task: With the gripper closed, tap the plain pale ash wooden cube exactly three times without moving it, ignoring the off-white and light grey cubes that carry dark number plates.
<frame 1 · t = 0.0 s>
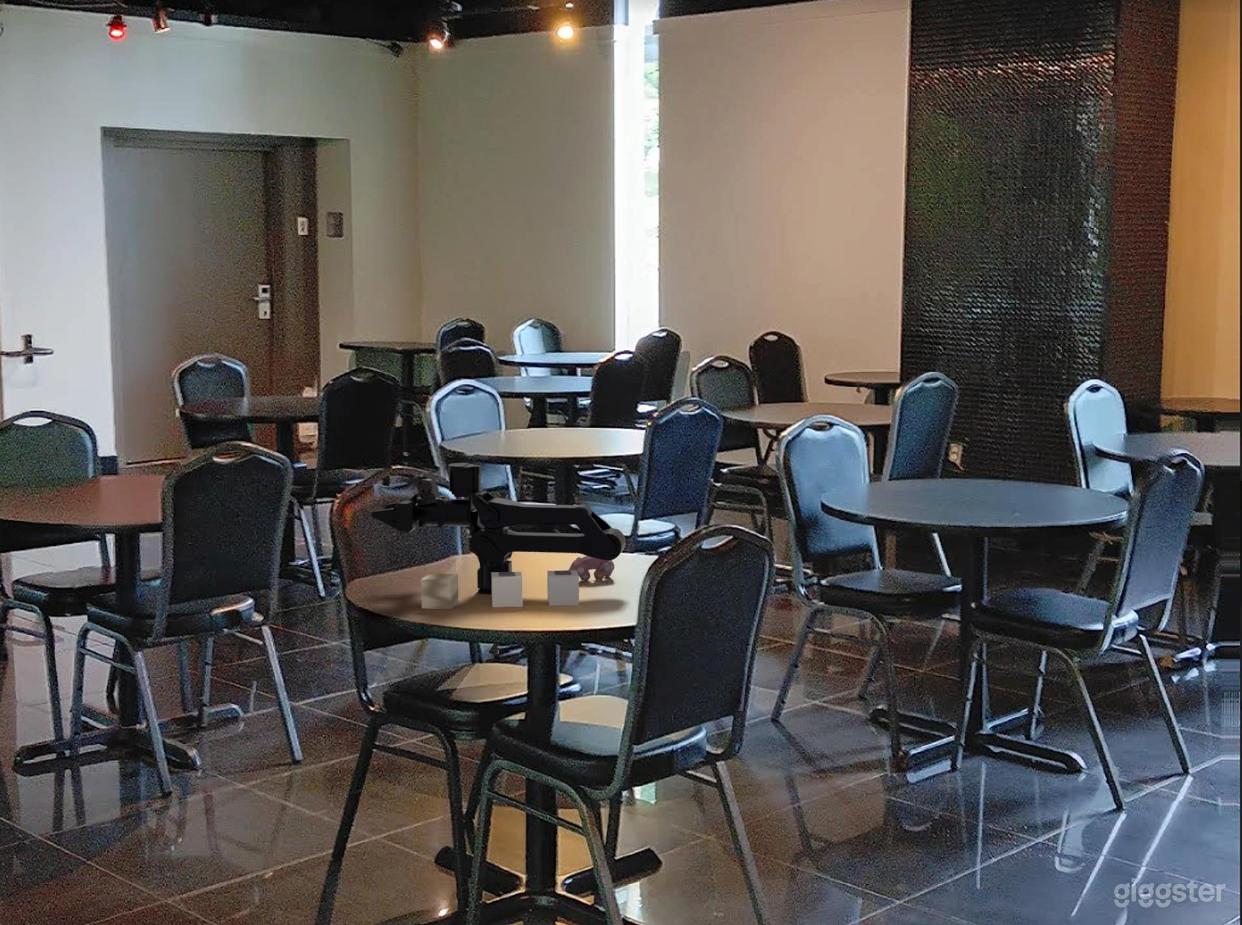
hand: (378, 510, 325), 17 cm above the table, tool horizontal, fingers open, 9 cm apart
grey numbered cube: (563, 602, 312), on the table
plain ash cube: (440, 605, 310), on the table
video game controller: (591, 581, 334), on the table
off-white numbered cube: (507, 603, 311), on the table
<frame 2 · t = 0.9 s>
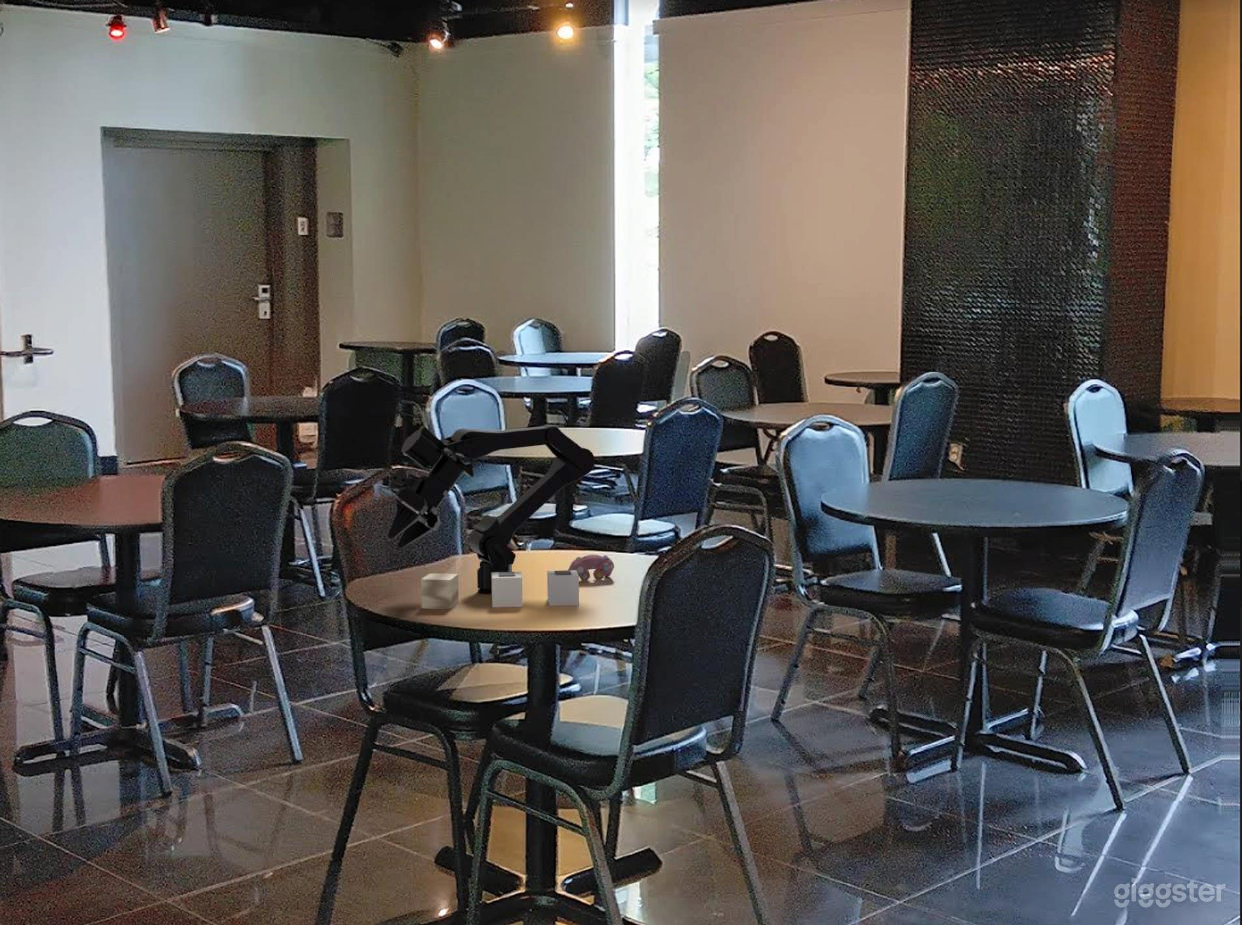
hand: (394, 542, 312), 12 cm above the table, tool tilted 40°, fingers open, 9 cm apart
nothing on the table moved.
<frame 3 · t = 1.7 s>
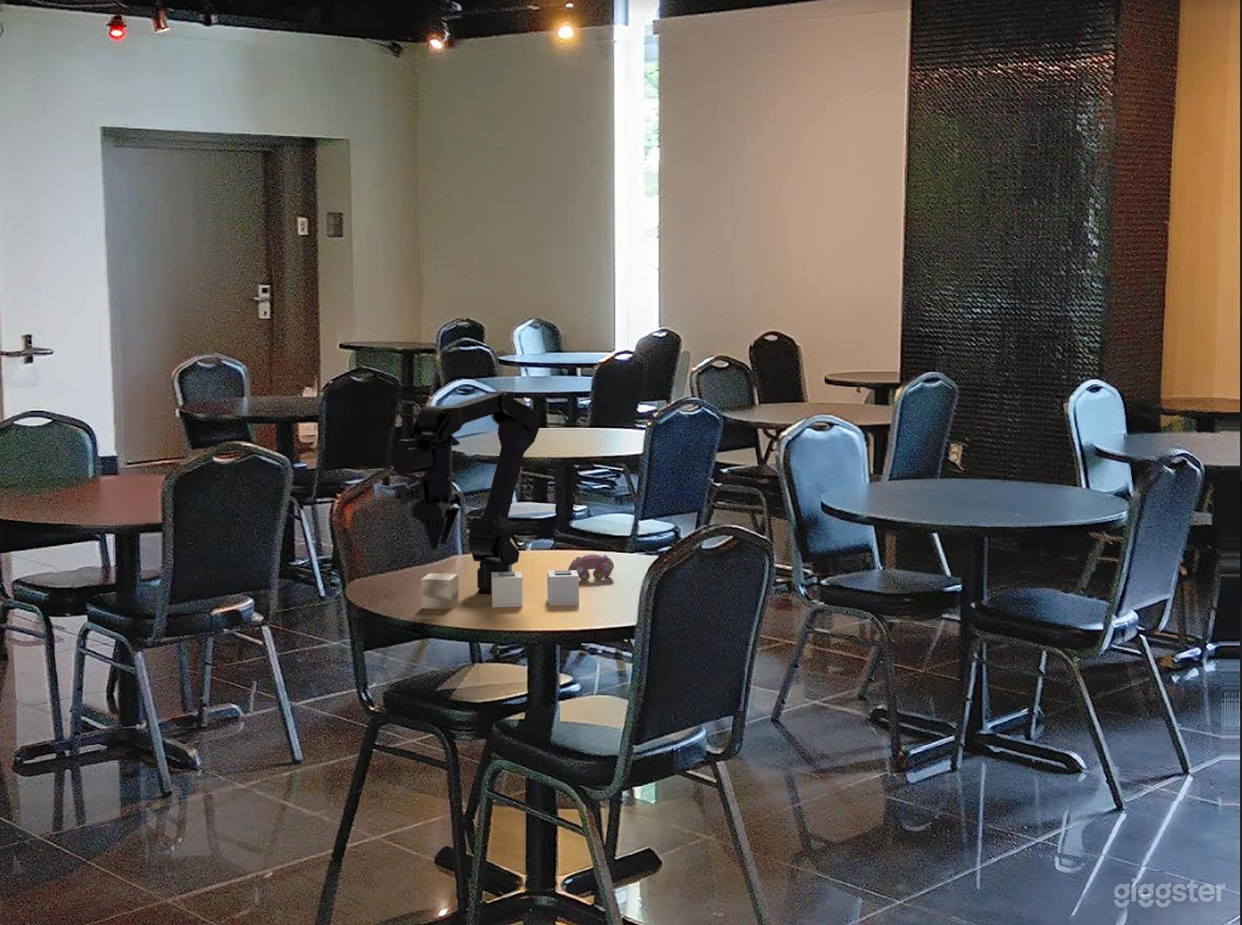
hand: (438, 546, 308), 12 cm above the table, tool pointing down, fingers open, 6 cm apart
nothing on the table moved.
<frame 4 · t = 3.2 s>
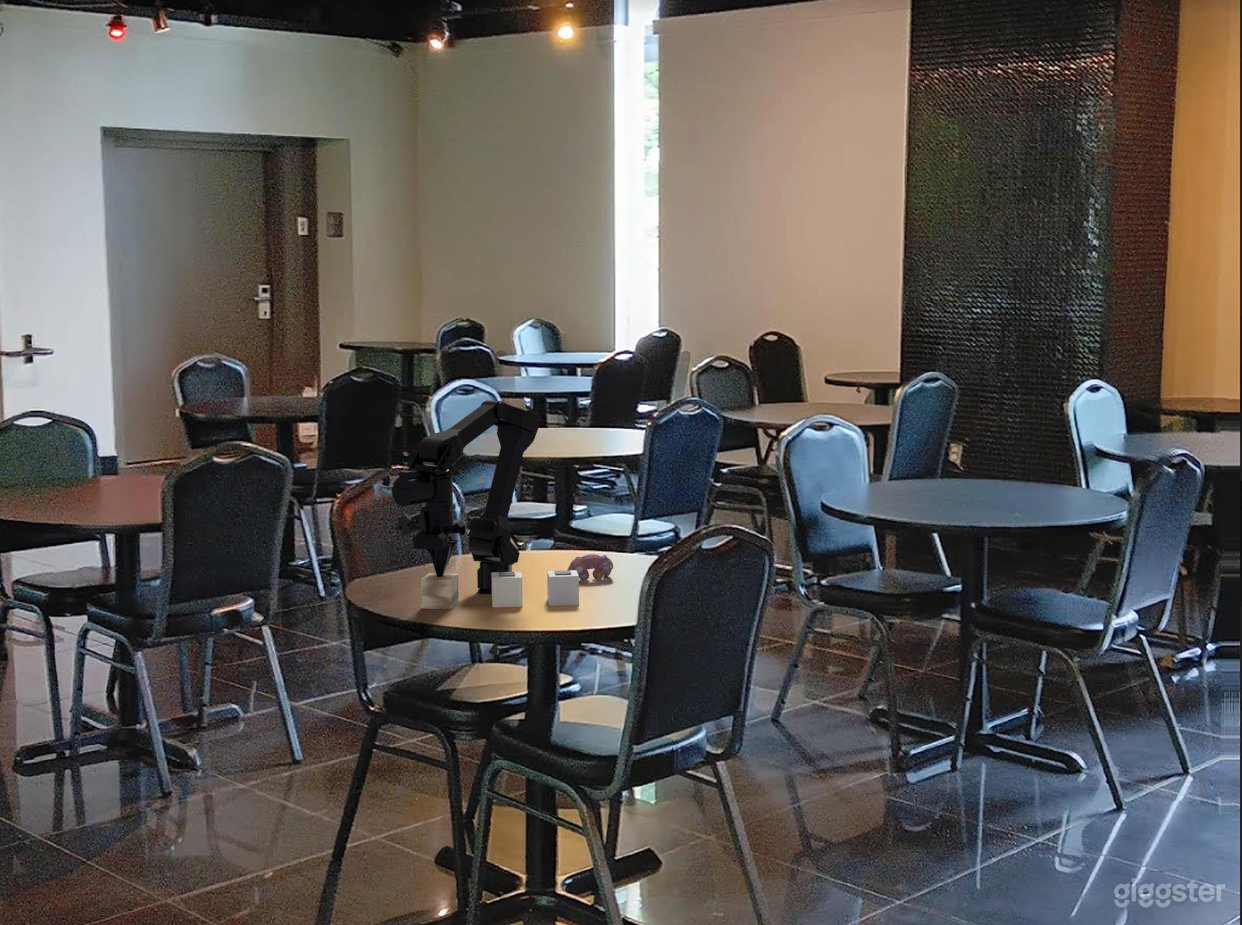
hand: (440, 576, 309), 6 cm above the table, tool pointing down, fingers closed, pressing on plain ash cube
plain ash cube: (440, 605, 310), on the table, touching gripper
everything else where it was.
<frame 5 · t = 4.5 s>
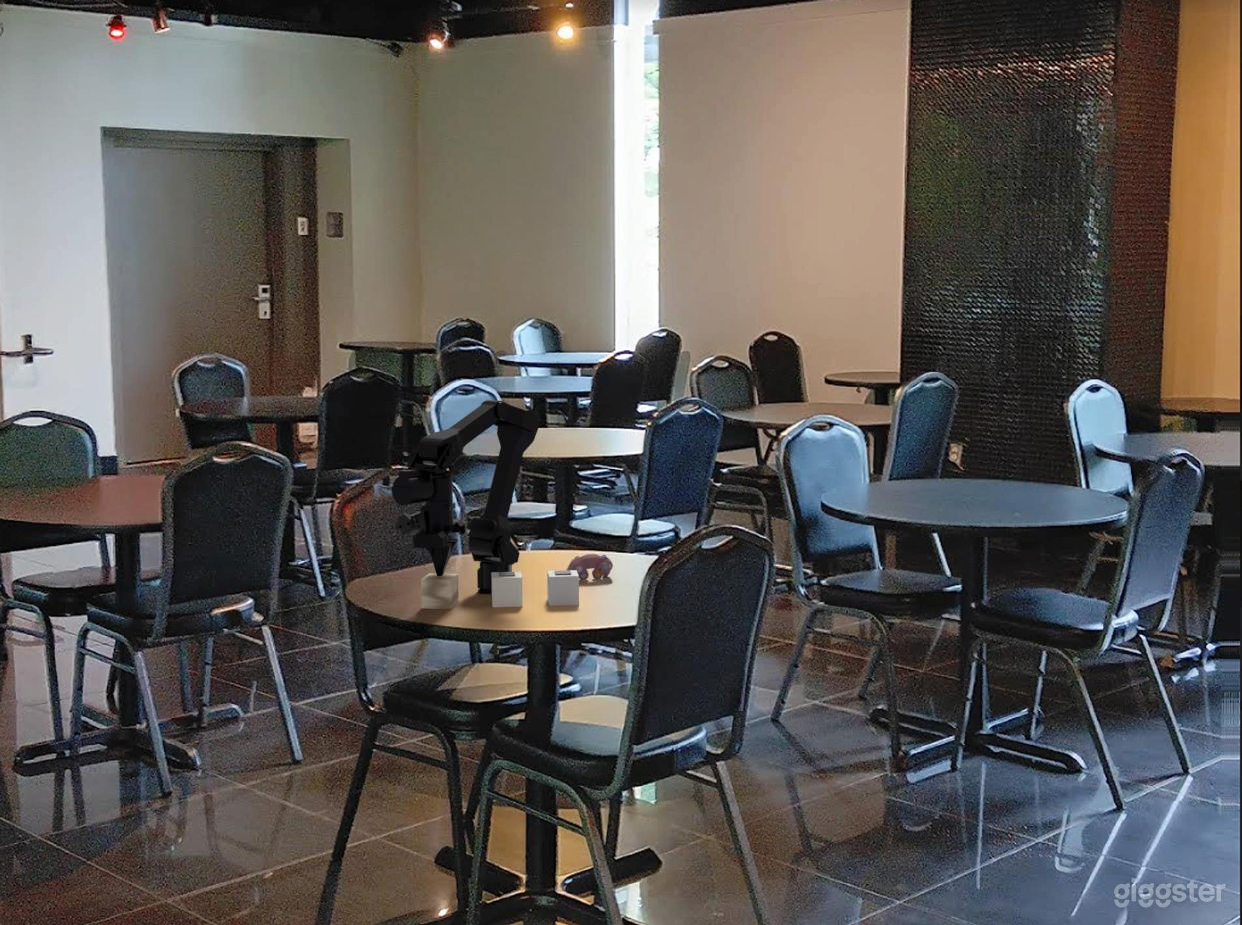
hand: (439, 575, 309), 6 cm above the table, tool pointing down, fingers closed
plain ash cube: (440, 605, 310), on the table
everything else where it was.
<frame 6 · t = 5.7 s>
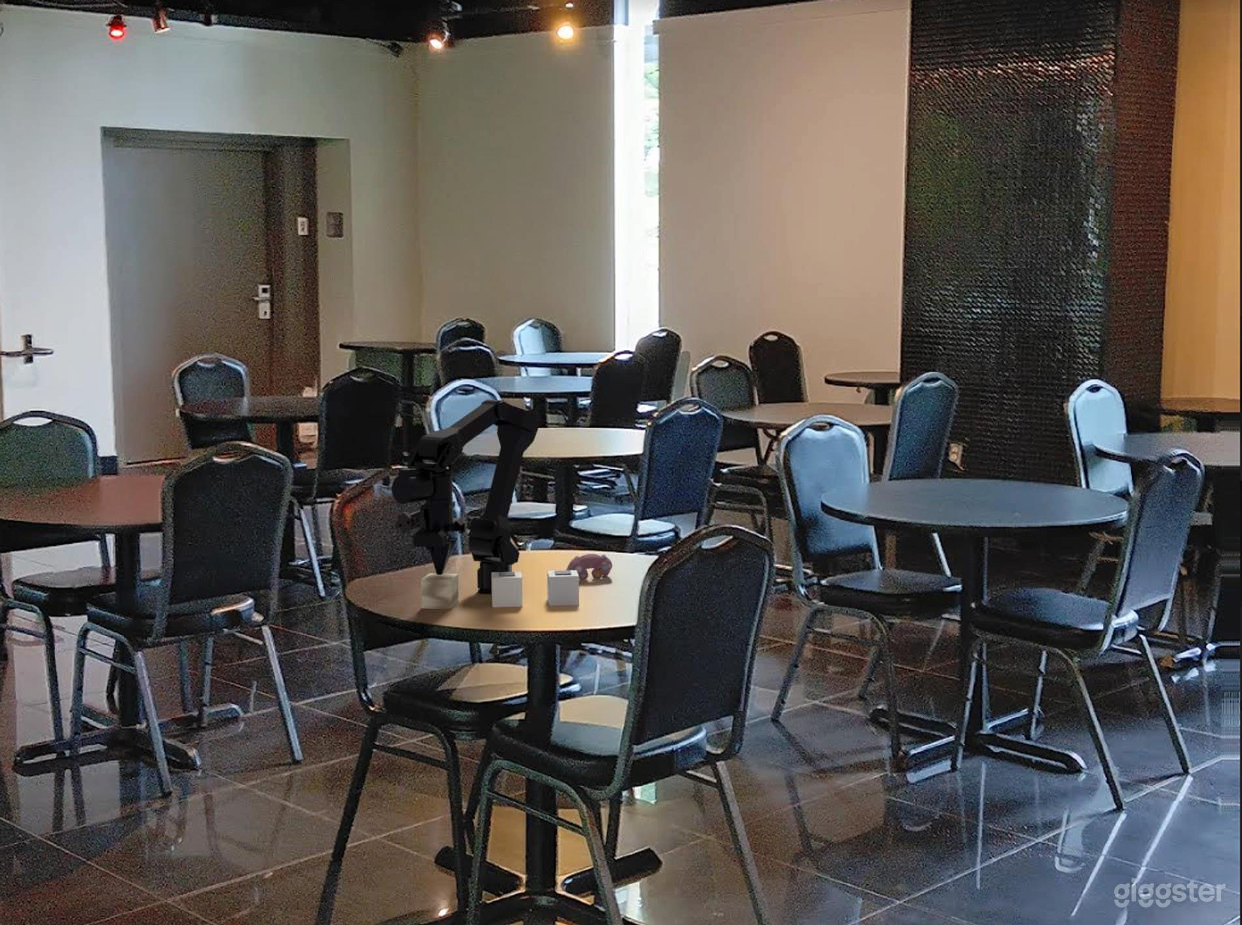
hand: (439, 574, 309), 6 cm above the table, tool pointing down, fingers closed
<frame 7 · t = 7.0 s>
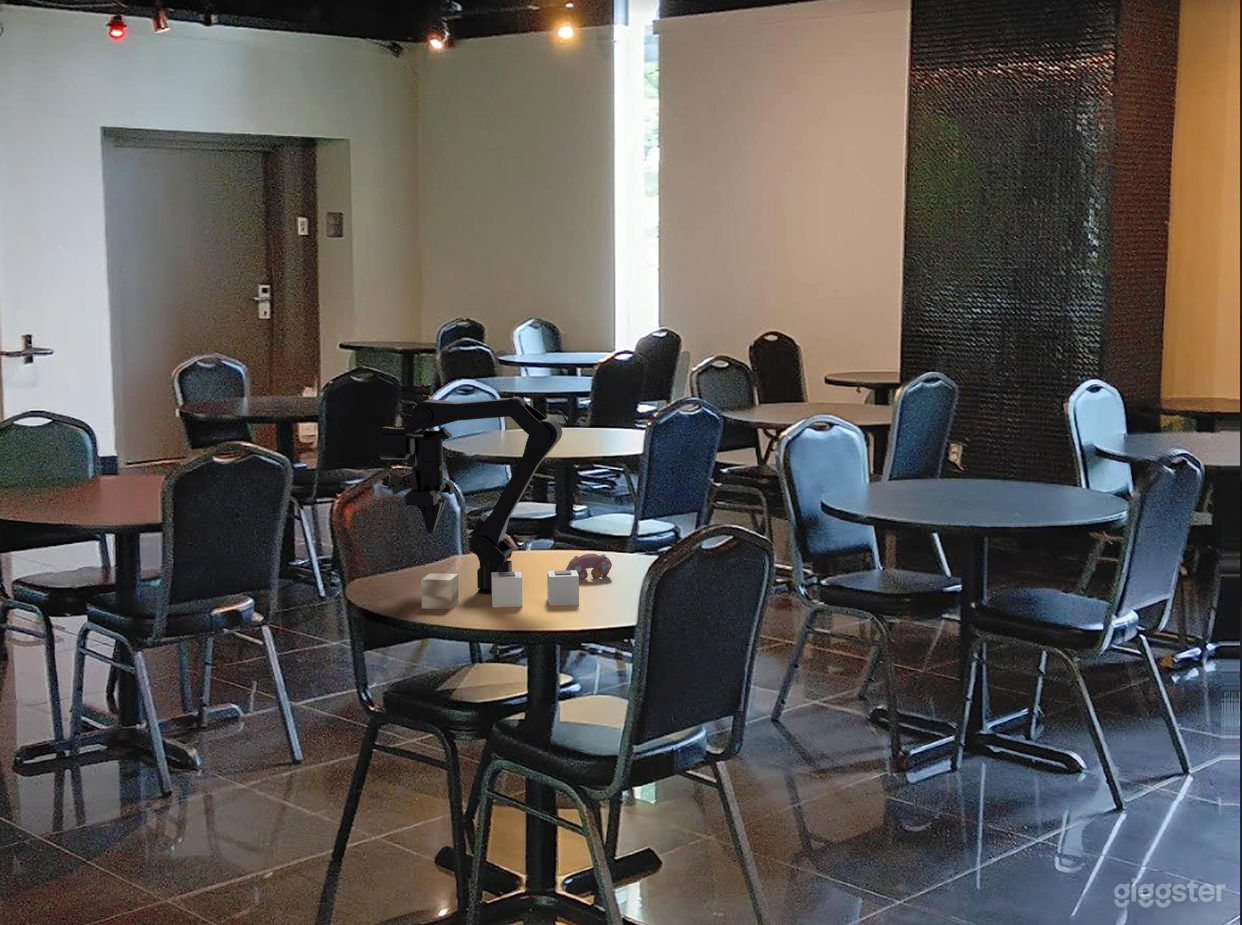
hand: (430, 533, 323), 12 cm above the table, tool pointing down, fingers closed
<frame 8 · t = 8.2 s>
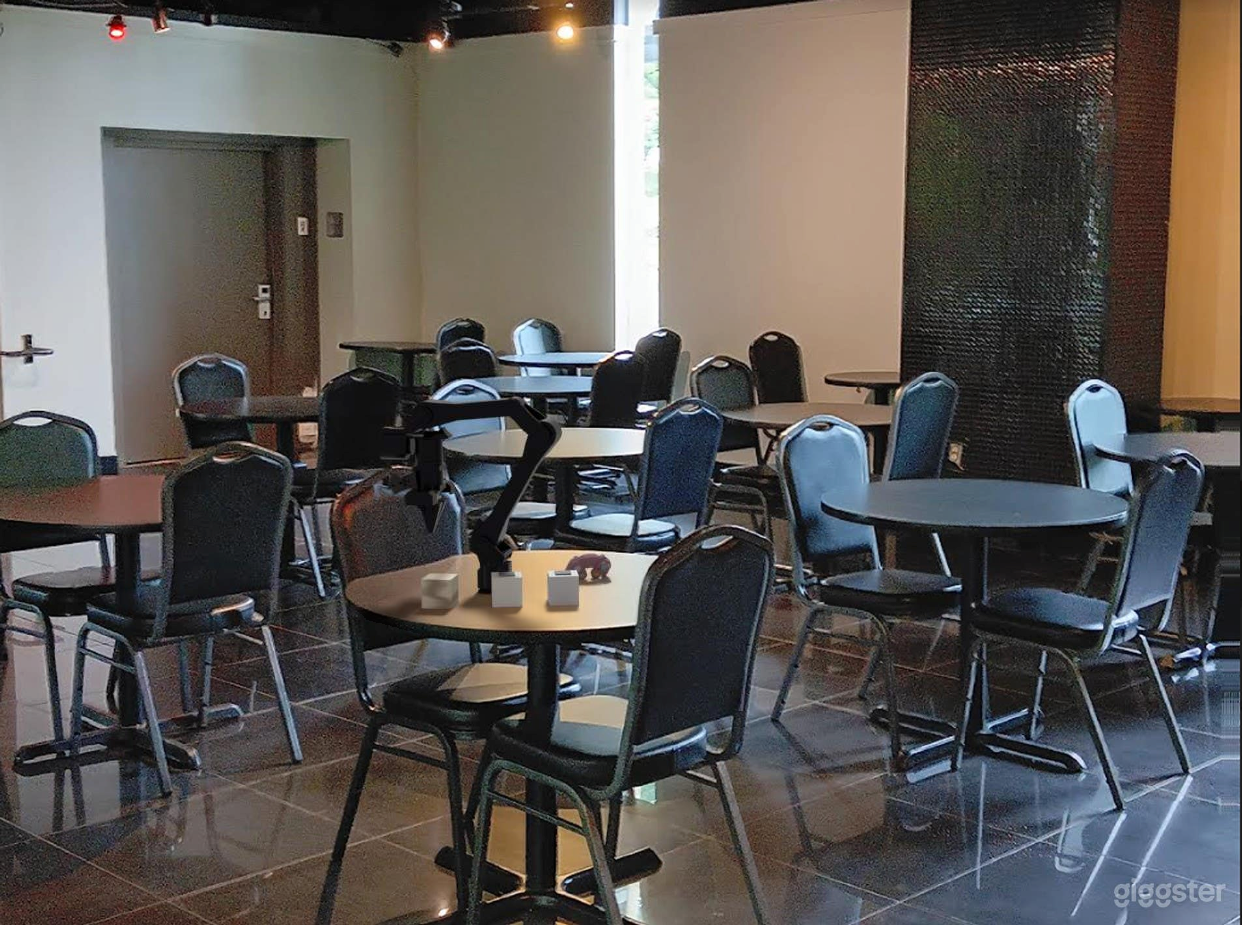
hand: (430, 533, 324), 12 cm above the table, tool pointing down, fingers closed
at the end: plain ash cube moved 0.1 cm from its start; plain ash cube tilted 0°; off-white numbered cube moved 0.1 cm from its start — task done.
